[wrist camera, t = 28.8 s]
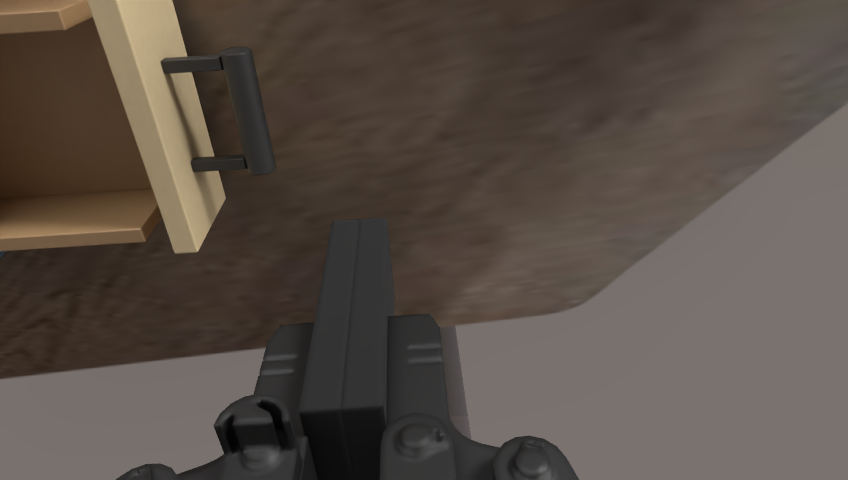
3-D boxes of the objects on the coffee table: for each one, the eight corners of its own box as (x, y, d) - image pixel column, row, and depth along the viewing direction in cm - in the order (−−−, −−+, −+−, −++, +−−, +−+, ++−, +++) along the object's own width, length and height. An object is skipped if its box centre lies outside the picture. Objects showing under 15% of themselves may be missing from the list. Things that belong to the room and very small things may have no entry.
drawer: (250, -38, 27) (219, -19, 22) (295, 193, 34) (279, 247, 29) (-124, -15, 27) (-240, 9, 22) (-4, 213, 33) (-72, 271, 28)
